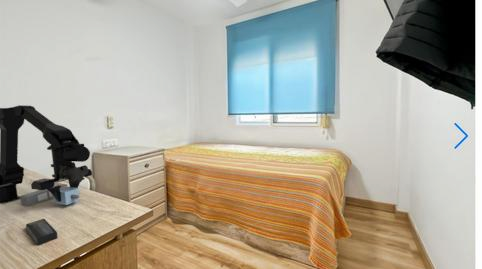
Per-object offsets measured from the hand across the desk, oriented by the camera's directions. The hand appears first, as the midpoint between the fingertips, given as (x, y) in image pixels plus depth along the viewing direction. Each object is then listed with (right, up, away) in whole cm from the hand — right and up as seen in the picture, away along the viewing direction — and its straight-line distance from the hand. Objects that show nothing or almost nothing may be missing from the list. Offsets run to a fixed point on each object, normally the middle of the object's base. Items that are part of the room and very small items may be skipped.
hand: (66, 199), depth 85 cm
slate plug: (0, -1, 0) cm, 1 cm away
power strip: (-15, -2, +7) cm, 17 cm away
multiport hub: (+9, -5, -20) cm, 22 cm away
